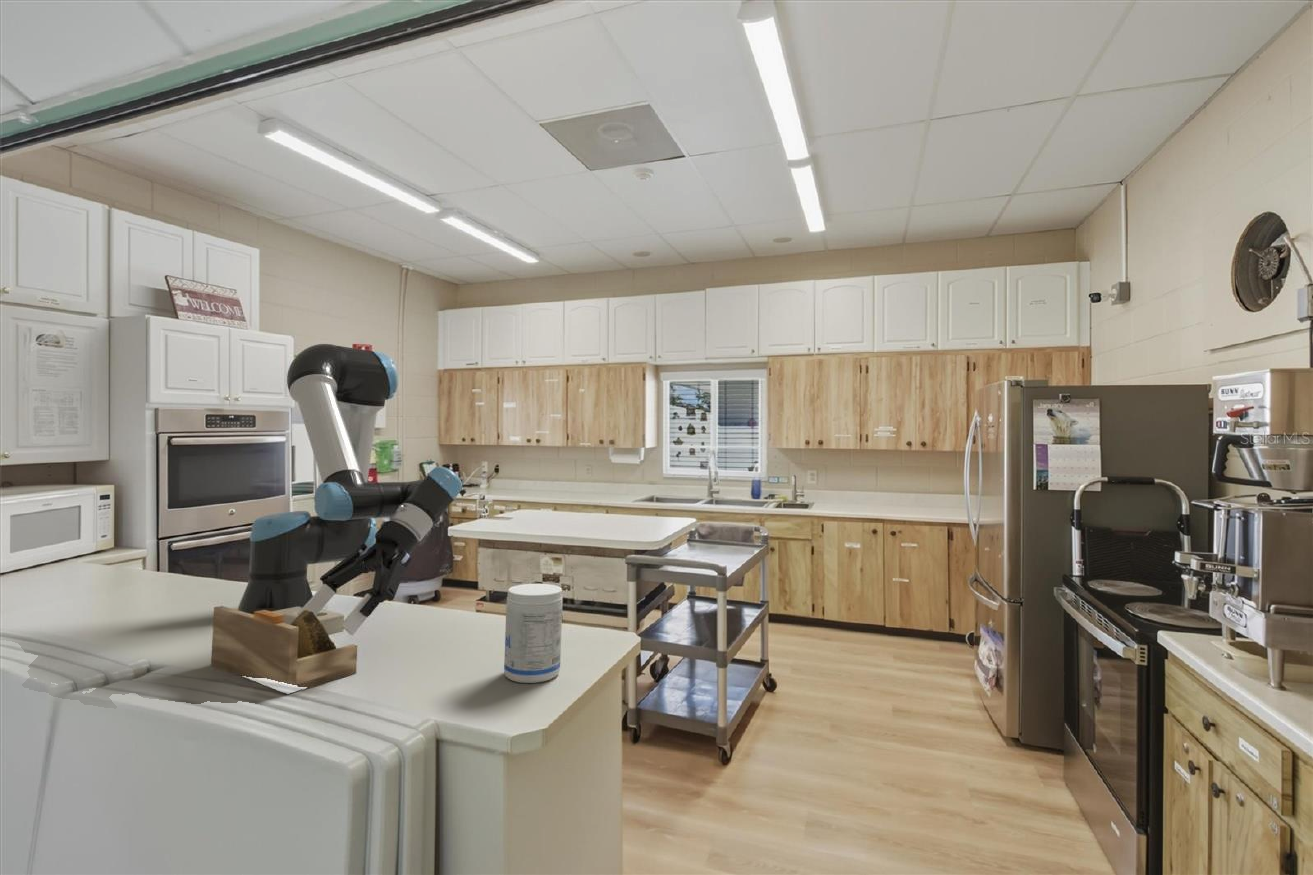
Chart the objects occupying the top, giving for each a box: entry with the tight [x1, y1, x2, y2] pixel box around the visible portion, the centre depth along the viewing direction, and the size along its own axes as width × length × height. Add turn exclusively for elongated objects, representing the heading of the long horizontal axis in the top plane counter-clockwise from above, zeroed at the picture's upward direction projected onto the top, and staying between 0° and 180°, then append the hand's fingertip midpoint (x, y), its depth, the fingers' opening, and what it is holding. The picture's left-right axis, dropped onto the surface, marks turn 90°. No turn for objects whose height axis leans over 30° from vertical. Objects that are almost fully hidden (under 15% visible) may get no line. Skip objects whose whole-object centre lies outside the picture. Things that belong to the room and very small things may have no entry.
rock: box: [290, 610, 337, 659], centre depth 100 cm, size 11×9×10 cm
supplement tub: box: [503, 583, 563, 684], centre depth 102 cm, size 10×10×15 cm
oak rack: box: [210, 605, 358, 689], centre depth 102 cm, size 11×25×11 cm, turn 60°
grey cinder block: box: [271, 607, 345, 636], centre depth 127 cm, size 7×4×18 cm
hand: (324, 624), depth 104 cm, fingers open, 13 cm apart
